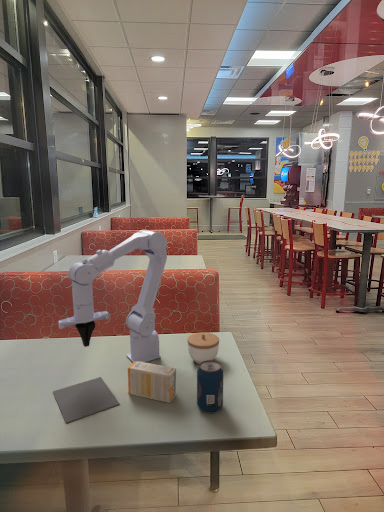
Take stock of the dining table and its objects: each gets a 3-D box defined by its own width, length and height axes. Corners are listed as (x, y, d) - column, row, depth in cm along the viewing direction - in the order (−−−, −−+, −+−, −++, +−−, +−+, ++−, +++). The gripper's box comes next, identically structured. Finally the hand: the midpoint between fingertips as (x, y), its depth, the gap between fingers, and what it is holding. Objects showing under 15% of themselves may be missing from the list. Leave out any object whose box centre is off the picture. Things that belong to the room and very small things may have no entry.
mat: (100, 377, 106) (100, 376, 106) (119, 404, 93) (119, 403, 93) (52, 392, 98) (52, 391, 98) (66, 423, 85) (66, 422, 85)
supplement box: (136, 385, 102) (176, 394, 97) (127, 394, 97) (170, 404, 93) (135, 359, 100) (177, 367, 96) (127, 367, 96) (170, 376, 92)
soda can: (197, 398, 95) (197, 358, 93) (222, 399, 95) (222, 359, 93) (196, 414, 88) (196, 372, 86) (223, 415, 88) (224, 372, 86)
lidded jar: (185, 366, 112) (184, 339, 111) (190, 351, 123) (190, 326, 121) (217, 369, 111) (217, 342, 109) (220, 353, 121) (220, 328, 119)
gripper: (102, 295, 109) (104, 335, 112) (54, 303, 102) (58, 346, 104) (110, 301, 103) (112, 343, 106) (60, 310, 96) (63, 355, 98)
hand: (86, 345), depth 105 cm, fingers closed
